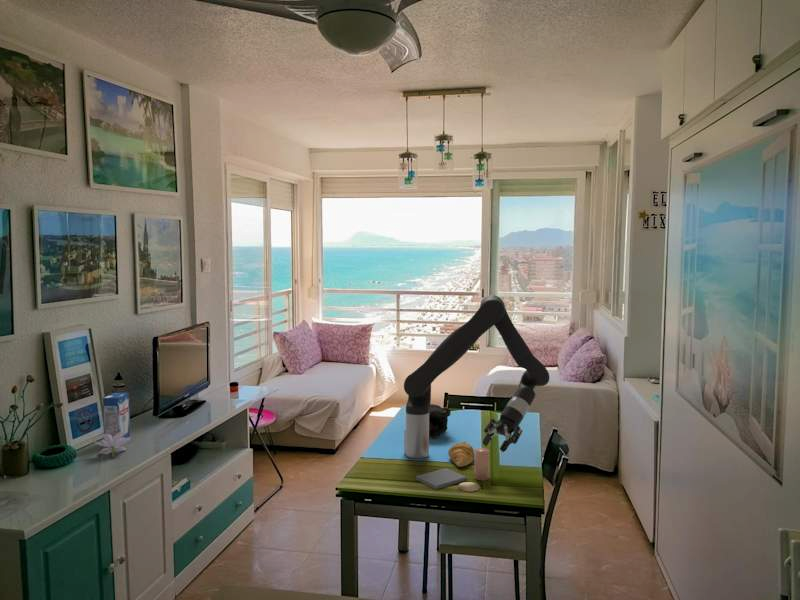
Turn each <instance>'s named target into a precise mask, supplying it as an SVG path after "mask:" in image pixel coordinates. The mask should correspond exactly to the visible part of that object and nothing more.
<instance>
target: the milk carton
mask: <svg viewBox="0 0 800 600" xmlns="http://www.w3.org/2000/svg"><path fill="white" fill-rule="evenodd" d="M102 406H103V407H102V410H103V412H102V415H103V434H104V435H105V434H110V435H111V436H112V439H113V438H114V436H115V435H116V434H118V433H119V432H121V431H122V432H123V434H122V437H121V438H123V437H125V438H128V437H131V432H130V431H131V429H130V394H129V392H112V393H111V394H108V395H107V396H105V397H102ZM103 440H105V439H104V438H103Z"/></svg>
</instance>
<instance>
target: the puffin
mask: <svg viewBox="0 0 800 600" xmlns="http://www.w3.org/2000/svg"><path fill="white" fill-rule="evenodd" d="M450 416H451V410H450V408H449V407H447V406H446V407H441V406H440V405H438V404H431V403H430V407H429V440H433V439H435V437H437V436H441V435H442V434H443V433H446V432H447V430H448V421H449V419H448V418H449V417H450Z"/></svg>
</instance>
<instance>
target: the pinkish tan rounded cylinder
mask: <svg viewBox="0 0 800 600" xmlns="http://www.w3.org/2000/svg"><path fill="white" fill-rule="evenodd" d="M473 468H474V474H473V475H474V477H473V478H474V479H475V480H477V481H480V482H481V481H482V482H483V481H489V479H490V449H488V448H485V447H478V448H475V449H474V467H473Z"/></svg>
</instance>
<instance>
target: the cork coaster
mask: <svg viewBox="0 0 800 600" xmlns="http://www.w3.org/2000/svg"><path fill="white" fill-rule="evenodd" d="M458 489H459V490H461V491H463V492H468V493H469V492H473V493H474V492H476V491H479V490H480V484H478V483H476V482H472V481H469V482H468V481H466V482H465V481H462V482H459V483H458Z"/></svg>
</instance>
